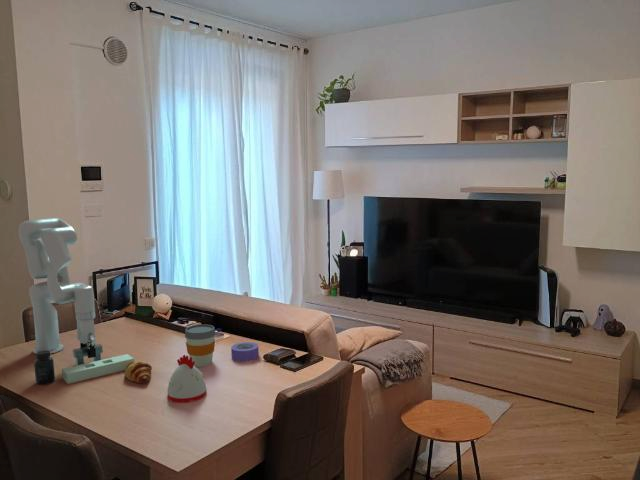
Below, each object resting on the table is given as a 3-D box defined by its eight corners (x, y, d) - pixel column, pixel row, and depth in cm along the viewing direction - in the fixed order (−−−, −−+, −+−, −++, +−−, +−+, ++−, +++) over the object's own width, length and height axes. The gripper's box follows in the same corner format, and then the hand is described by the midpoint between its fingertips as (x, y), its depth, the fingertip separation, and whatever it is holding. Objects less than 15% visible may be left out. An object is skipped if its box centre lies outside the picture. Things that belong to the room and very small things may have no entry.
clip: (74, 365, 231) (72, 349, 230) (100, 359, 238) (99, 343, 237) (76, 367, 228) (75, 351, 227) (103, 361, 235) (102, 345, 234)
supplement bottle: (59, 379, 216) (56, 350, 214) (45, 386, 209) (42, 356, 208) (45, 377, 218) (43, 348, 216) (31, 384, 212) (28, 354, 210)
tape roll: (226, 360, 236) (226, 348, 235) (240, 351, 247) (239, 340, 246) (250, 363, 232) (250, 352, 231) (263, 354, 242) (263, 343, 242)
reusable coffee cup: (190, 370, 224) (188, 334, 222) (182, 360, 235) (181, 326, 233) (220, 364, 230) (218, 330, 228) (211, 355, 241) (210, 322, 239)
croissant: (124, 378, 225) (114, 364, 222) (145, 363, 230) (135, 348, 227) (140, 395, 208) (128, 379, 205) (162, 377, 212) (151, 362, 209)
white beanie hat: (186, 406, 191) (184, 364, 189) (159, 397, 199) (157, 357, 197) (214, 391, 203) (212, 353, 201) (187, 384, 210) (185, 346, 208)
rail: (62, 378, 217) (62, 368, 216) (128, 363, 233) (127, 354, 232) (67, 383, 211) (67, 373, 211) (134, 367, 228) (133, 358, 227)
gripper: (70, 312, 234) (73, 351, 237) (82, 321, 221) (85, 361, 223) (88, 309, 239) (91, 347, 241) (101, 317, 226) (104, 357, 228)
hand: (88, 354), depth 232 cm, fingers open, 9 cm apart
